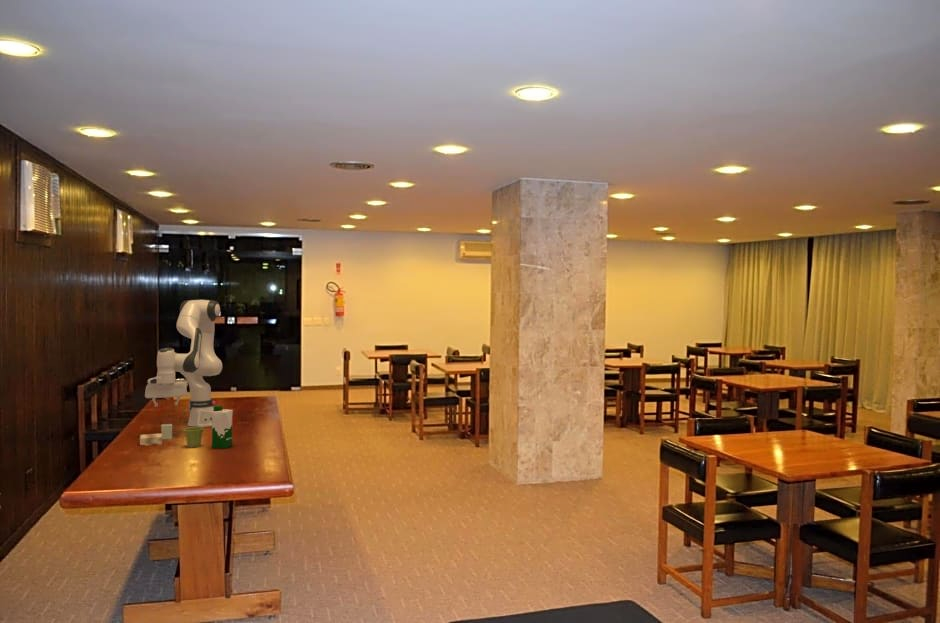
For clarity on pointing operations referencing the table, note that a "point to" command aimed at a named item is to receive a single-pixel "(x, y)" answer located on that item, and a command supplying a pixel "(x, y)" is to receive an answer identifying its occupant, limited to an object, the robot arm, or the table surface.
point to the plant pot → (193, 436)
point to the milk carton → (221, 427)
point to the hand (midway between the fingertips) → (166, 405)
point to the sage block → (166, 431)
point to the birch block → (151, 439)
